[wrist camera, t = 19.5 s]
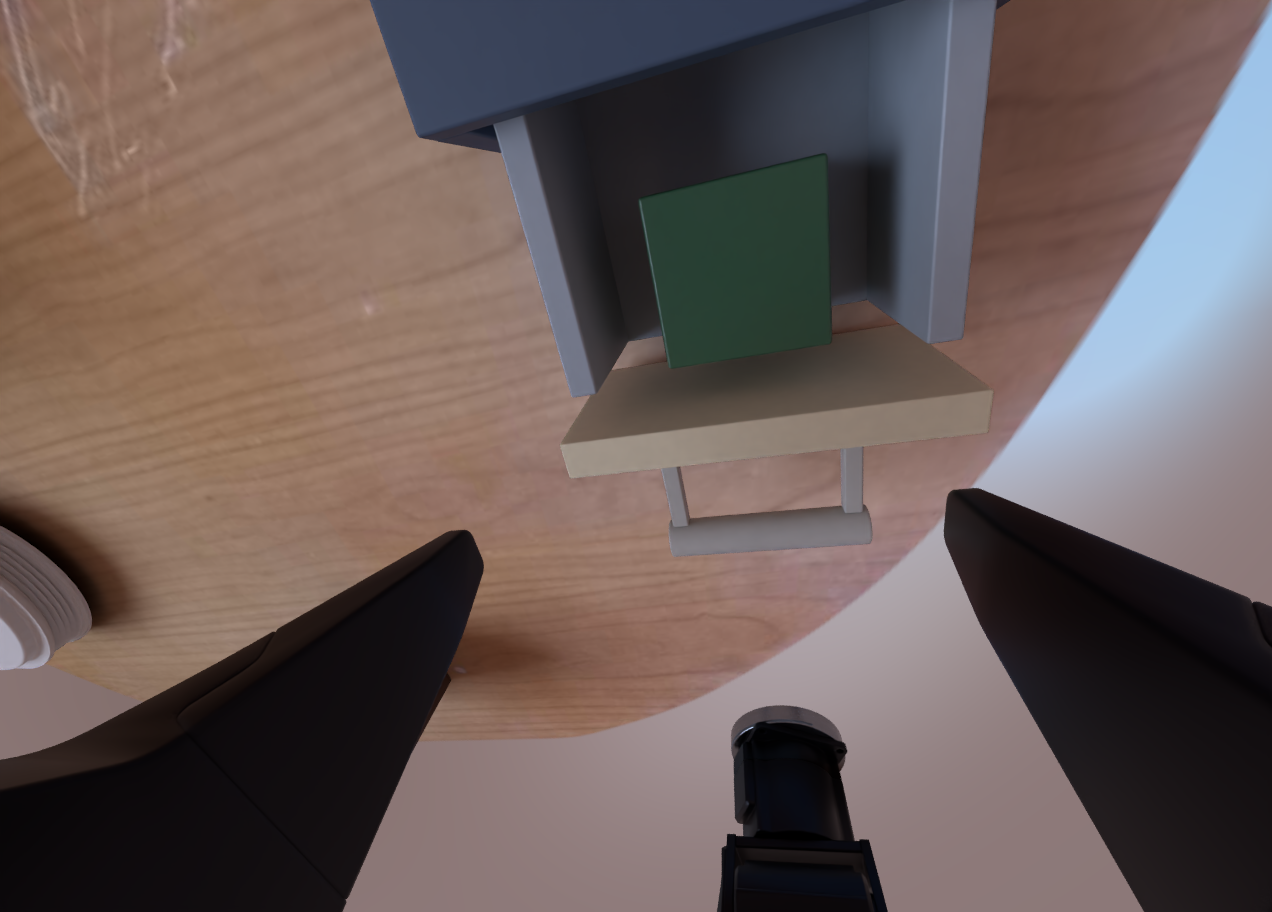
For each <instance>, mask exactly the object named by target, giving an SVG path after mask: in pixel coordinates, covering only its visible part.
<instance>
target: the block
mask: <svg viewBox="0 0 1272 912" xmlns="http://www.w3.org/2000/svg"><path fill="white" fill-rule="evenodd" d="M638 204H639V210H640V215H641V221H642V226H643V232H644V237H645V243H646V248H647V253H648V259H649V264H650V270H651V275H652V281H653V286H654V291H655V297H656V302H657V308H658V313H659V319H660V324H661V330H662V335H663V340H664V346H665V351H666V357H667V362H668V367H669V368H670V369H674V368H681V367H687V366H694V365H700V364H706V363H713V362H719V361H726V360H732V359H738V358H745V357H751V356H758V355H764V354H771V353H777V352H783V351H790V350H796V349H803V348H809V347H815V346H822V345H828V344H830V343H831V342H832V307H831V265H830V222H829V179H828V156H827V154H826V153H821V154H817V155H813V156H809V157H804V158H800V159H796V160H792V161H788V162H784V163H780V164H775V165H771V166H767V167H763V168H759V169H755V170H751V171H747V172H742V173H738V174H734V175H730V176H726V177H722V178H718V179H714V180H709V181H705V182H701V183H697V184H693V185H689V186H685V187H680V188H676V189H672V190H668V191H664V192H660V193H656V194H652V195H647V196H643V197H641V198H639V200H638Z"/></svg>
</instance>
